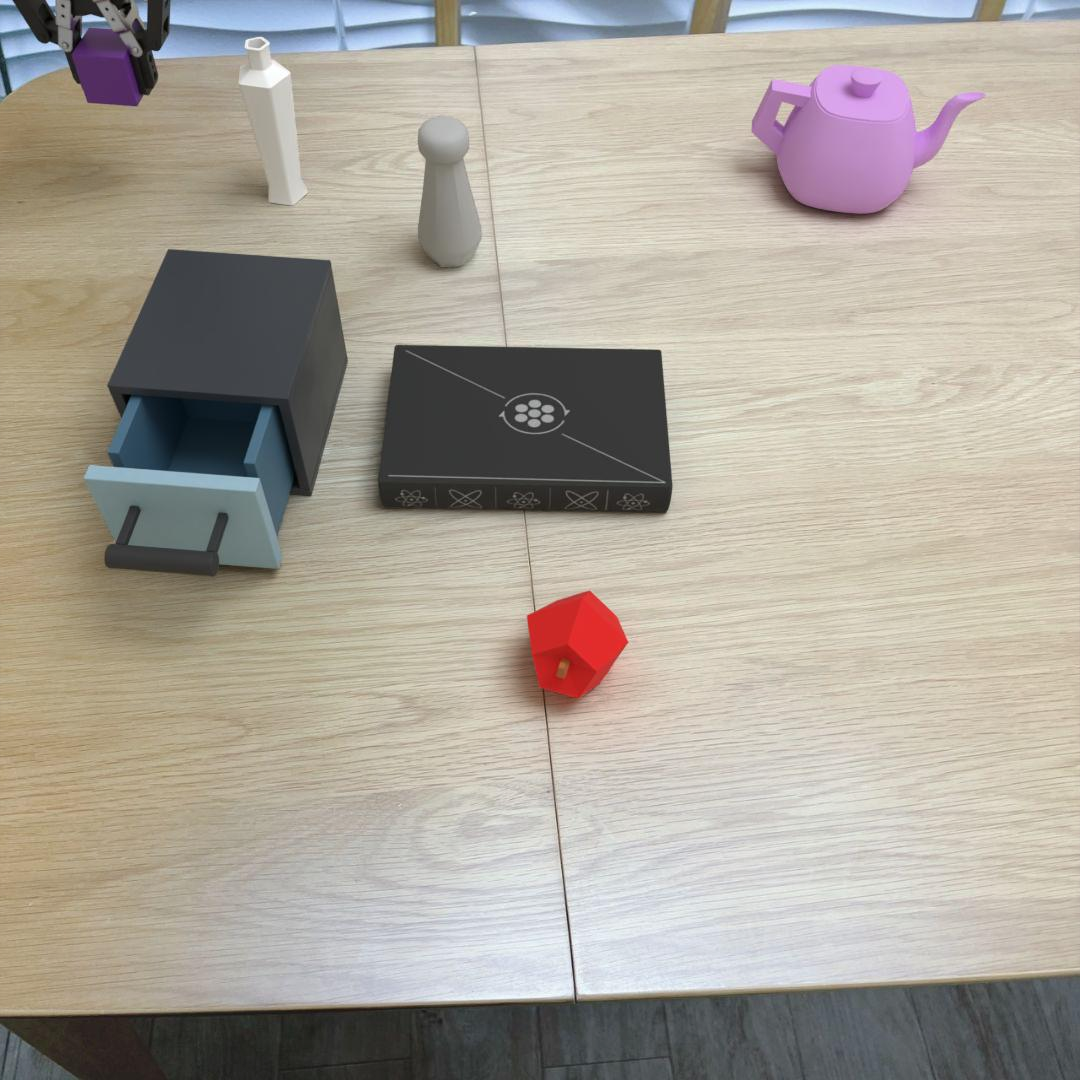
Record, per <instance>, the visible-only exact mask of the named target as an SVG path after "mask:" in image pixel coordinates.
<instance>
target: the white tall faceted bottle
mask: <svg viewBox="0 0 1080 1080" xmlns="http://www.w3.org/2000/svg"><path fill="white" fill-rule="evenodd" d="M244 41H245V42H244V49H245V50H246V53H247V57H248V61H249V62H247V63H245V64H242V65H240V67H239V74H238V82H237V83H238V87H239V89H240V93H241V96H242V100H243V103H244V106H245V110H246V113H247V116H248V121H249V123H250V126H251V130H252V133H253V137H254V140H255V144H256V147H257V150H258V153H259V157H260V161H261V163H262V168H263V170H264V173H265V177H266V181H267V184H268V192H267V193H268V196H267V200H268V201H267V202H268V203H271V204H278V205H283V206H284V205H285V206H295V205H296V204H297V203H298V202H299V201H301V200H303V198H304V197H305V196H306V195H307V194H308V193H309V191H308V189H307V187H306V185H305V183H304V181H303V179H302V171H301V162H300V154H299V153H300V151H299V142H298V133H297V124H296V114H295V104H294V95H293V94H294V93H293V84H292V75H291V71H290V70H288V69H287V68H286V67H285V66H283V65H282V64H280V63H279V62H278V61H276V60H275V59H272V56H271V50H270V44H271V43H270V41H269V40H267V39H266V38H264V37H263V36H257V37H252V38H248V39H246V40H244Z"/></svg>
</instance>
